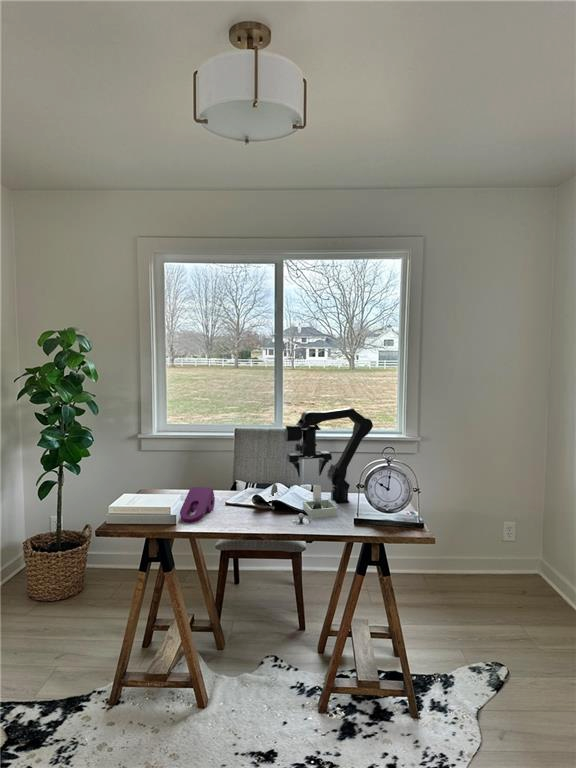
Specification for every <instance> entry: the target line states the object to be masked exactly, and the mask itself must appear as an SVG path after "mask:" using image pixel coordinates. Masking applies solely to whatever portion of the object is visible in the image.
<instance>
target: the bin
mask: <svg viewBox="0 0 576 768" xmlns="http://www.w3.org/2000/svg"><path fill="white" fill-rule="evenodd" d="M311 506H313V500H304V501H302V509H303V508H304V509H303V510H304V512H305V513H306V514H307V516H308V517H309V519H311V518H312V519H314V518H325V517H335V516H338V513H339V511H338V507H337V505H335V504H334V503H333V502H332V500H331V499H328V498H327V499H321V506H322V507H323V508H322V509H311Z"/></svg>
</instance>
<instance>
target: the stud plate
mask: <svg viewBox="0 0 576 768" xmlns="http://www.w3.org/2000/svg"><path fill="white" fill-rule="evenodd" d="M289 519H290V521H291V522H292V524H293V525H294V526H300V525H301V526H302V525H310V524H313V522H312V521H311V520H310V517H309V516H307V517H305V514H304V513H302V512H301V513H298V515H297V517H293V518H289Z"/></svg>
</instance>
